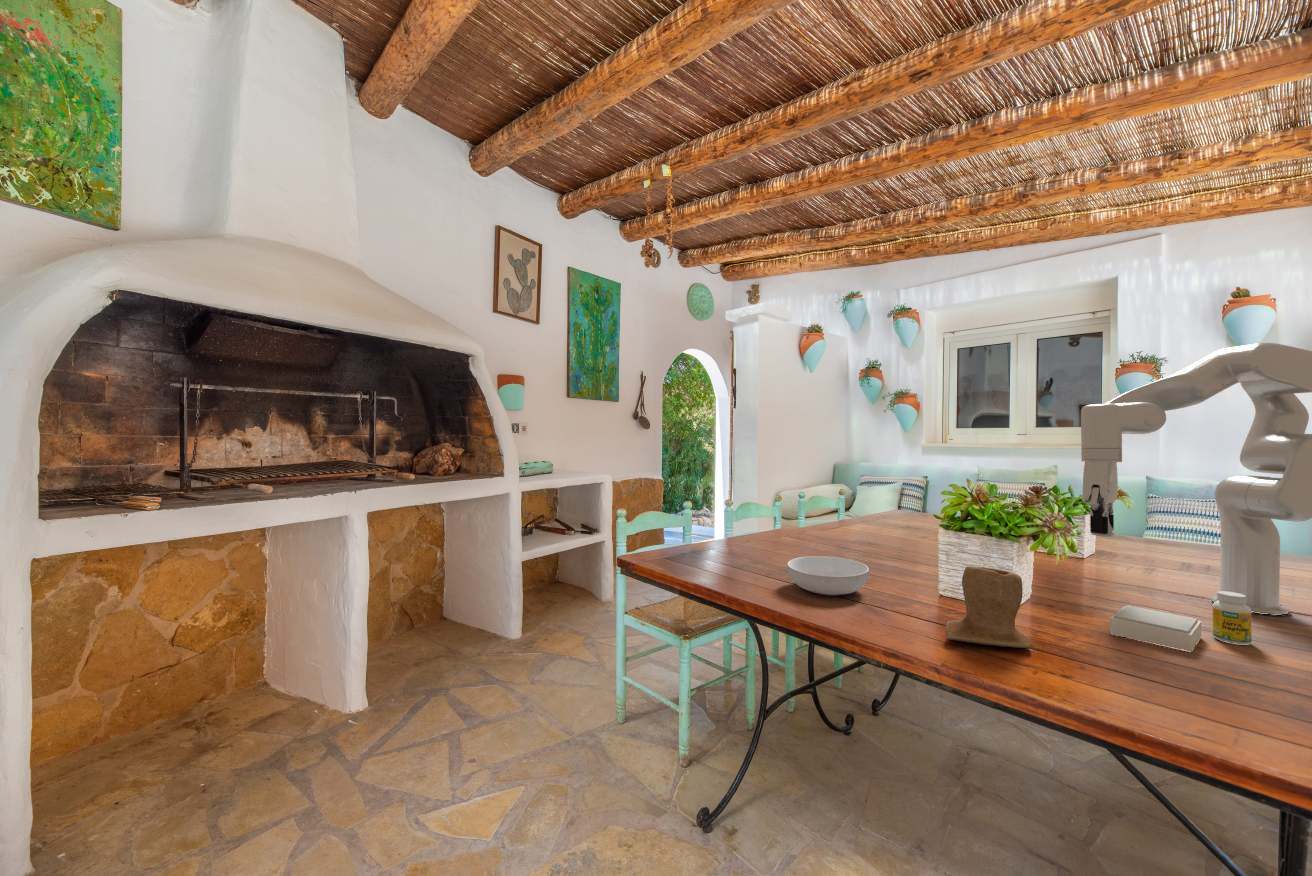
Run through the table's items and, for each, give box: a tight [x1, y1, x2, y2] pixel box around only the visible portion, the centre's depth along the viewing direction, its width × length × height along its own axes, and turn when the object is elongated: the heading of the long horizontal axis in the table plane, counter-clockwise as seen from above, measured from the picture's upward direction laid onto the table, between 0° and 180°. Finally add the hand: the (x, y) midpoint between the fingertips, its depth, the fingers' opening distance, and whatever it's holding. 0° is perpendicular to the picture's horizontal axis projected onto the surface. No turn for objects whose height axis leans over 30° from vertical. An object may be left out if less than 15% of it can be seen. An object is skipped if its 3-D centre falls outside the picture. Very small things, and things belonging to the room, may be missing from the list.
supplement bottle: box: [1212, 590, 1253, 645], centre depth 108 cm, size 5×5×10 cm
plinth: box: [1109, 604, 1202, 652], centre depth 110 cm, size 12×12×4 cm
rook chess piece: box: [1089, 501, 1115, 537], centre depth 128 cm, size 4×4×8 cm
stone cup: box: [945, 565, 1032, 649], centre depth 108 cm, size 15×12×15 cm
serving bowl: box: [786, 555, 870, 596], centre depth 143 cm, size 21×21×7 cm
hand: (1102, 530), depth 128 cm, fingers closed on rook chess piece, 4 cm apart
